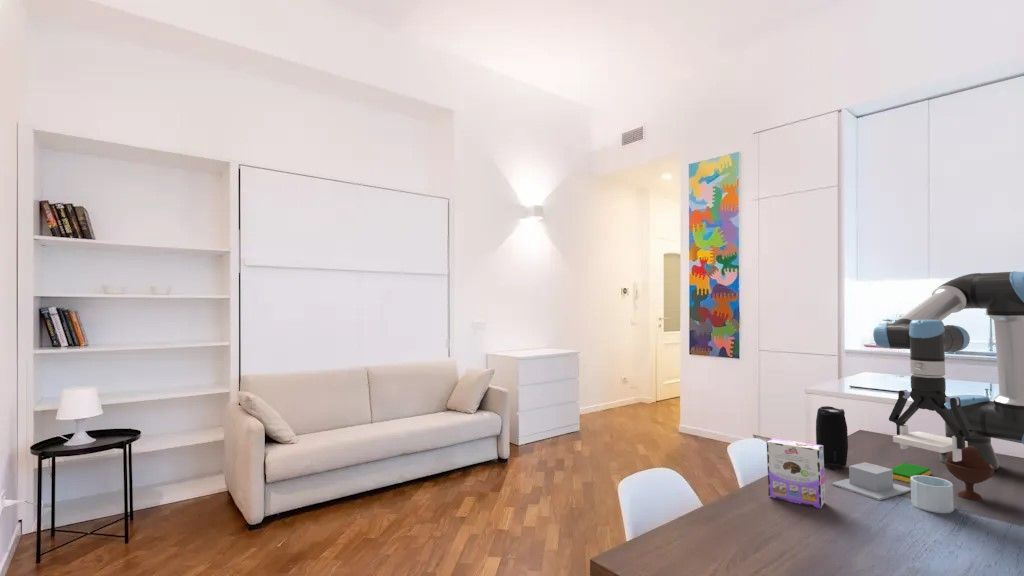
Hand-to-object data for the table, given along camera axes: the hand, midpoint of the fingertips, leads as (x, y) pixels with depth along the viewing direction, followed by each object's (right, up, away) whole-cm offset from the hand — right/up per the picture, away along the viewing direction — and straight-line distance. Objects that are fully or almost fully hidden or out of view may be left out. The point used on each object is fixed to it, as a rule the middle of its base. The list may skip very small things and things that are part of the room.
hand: (929, 454), depth 144 cm
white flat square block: (0, +3, 0) cm, 3 cm away
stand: (-6, -15, +14) cm, 21 cm away
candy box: (-33, -15, +6) cm, 37 cm away
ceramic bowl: (+1, -14, 0) cm, 14 cm away
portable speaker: (-6, -15, +35) cm, 38 cm away
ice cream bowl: (+16, -14, +6) cm, 23 cm away
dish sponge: (+12, -15, +24) cm, 31 cm away
